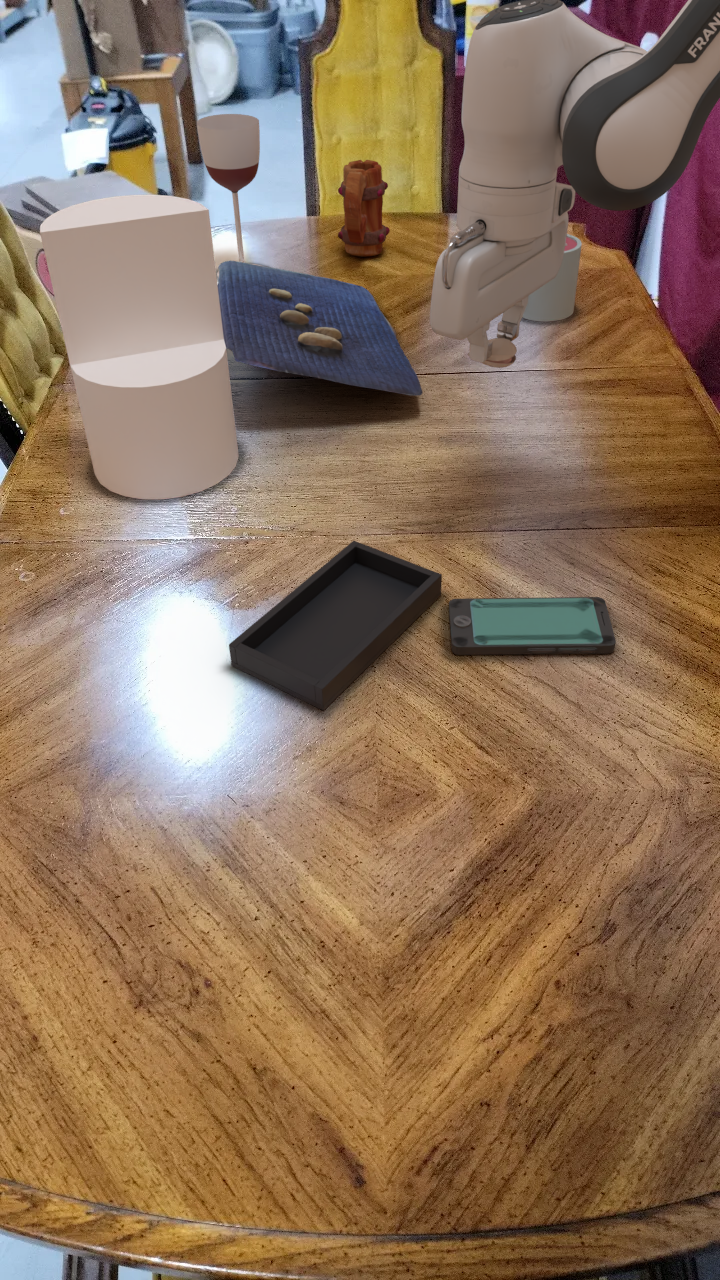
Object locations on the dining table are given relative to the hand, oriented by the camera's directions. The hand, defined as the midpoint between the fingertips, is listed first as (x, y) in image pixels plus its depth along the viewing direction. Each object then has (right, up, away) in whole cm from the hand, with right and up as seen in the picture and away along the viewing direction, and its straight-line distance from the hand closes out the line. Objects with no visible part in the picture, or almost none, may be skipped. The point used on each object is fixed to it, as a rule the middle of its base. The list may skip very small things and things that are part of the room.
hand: (494, 349), depth 101 cm
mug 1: (-13, +36, +69) cm, 79 cm away
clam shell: (0, -2, +1) cm, 2 cm away
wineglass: (-33, +32, +65) cm, 80 cm away
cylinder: (-37, -8, +19) cm, 42 cm away
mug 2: (+13, +22, +52) cm, 58 cm away
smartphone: (+2, -29, -7) cm, 30 cm away
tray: (-16, -29, -6) cm, 33 cm away
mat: (-22, +11, +41) cm, 47 cm away
